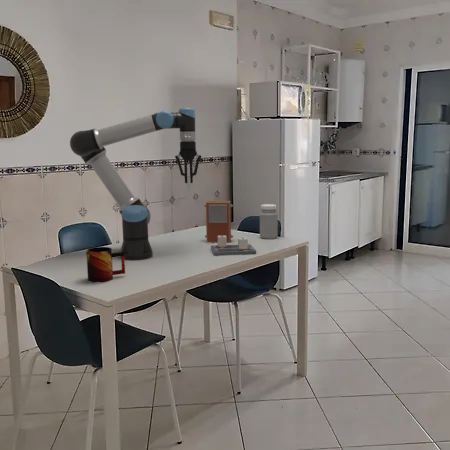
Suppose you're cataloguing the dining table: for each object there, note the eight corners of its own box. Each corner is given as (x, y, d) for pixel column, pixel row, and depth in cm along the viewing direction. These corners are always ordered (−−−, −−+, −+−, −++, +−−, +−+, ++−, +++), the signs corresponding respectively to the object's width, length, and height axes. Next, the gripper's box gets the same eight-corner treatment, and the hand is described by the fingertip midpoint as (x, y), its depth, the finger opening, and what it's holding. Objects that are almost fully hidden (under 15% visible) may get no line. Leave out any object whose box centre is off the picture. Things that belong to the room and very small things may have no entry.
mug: (126, 276, 209) (124, 246, 207) (98, 284, 199) (97, 253, 197) (110, 272, 215) (108, 244, 213) (82, 280, 204) (81, 250, 202)
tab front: (239, 249, 246) (239, 239, 245) (238, 247, 250) (238, 237, 249) (247, 249, 247) (247, 238, 246) (246, 247, 250) (246, 237, 249)
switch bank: (214, 255, 243) (214, 251, 243) (210, 248, 259) (210, 244, 258) (256, 254, 245) (256, 249, 245) (250, 247, 261) (250, 243, 261)
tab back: (218, 246, 253) (218, 236, 252) (217, 245, 256) (217, 235, 256) (226, 246, 253) (226, 236, 253) (225, 244, 257) (225, 235, 256)
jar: (257, 236, 287) (257, 204, 284) (273, 235, 290) (273, 203, 287) (263, 240, 278) (263, 206, 275) (280, 238, 281) (280, 205, 278)
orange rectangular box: (205, 240, 280) (233, 240, 279) (203, 242, 273) (232, 242, 272) (204, 200, 276) (233, 200, 275) (203, 202, 270) (231, 202, 268)
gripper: (174, 141, 245) (175, 191, 249) (201, 140, 247) (203, 190, 250) (173, 141, 252) (175, 189, 256) (200, 140, 254) (201, 188, 258)
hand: (189, 189), depth 253 cm, fingers closed
